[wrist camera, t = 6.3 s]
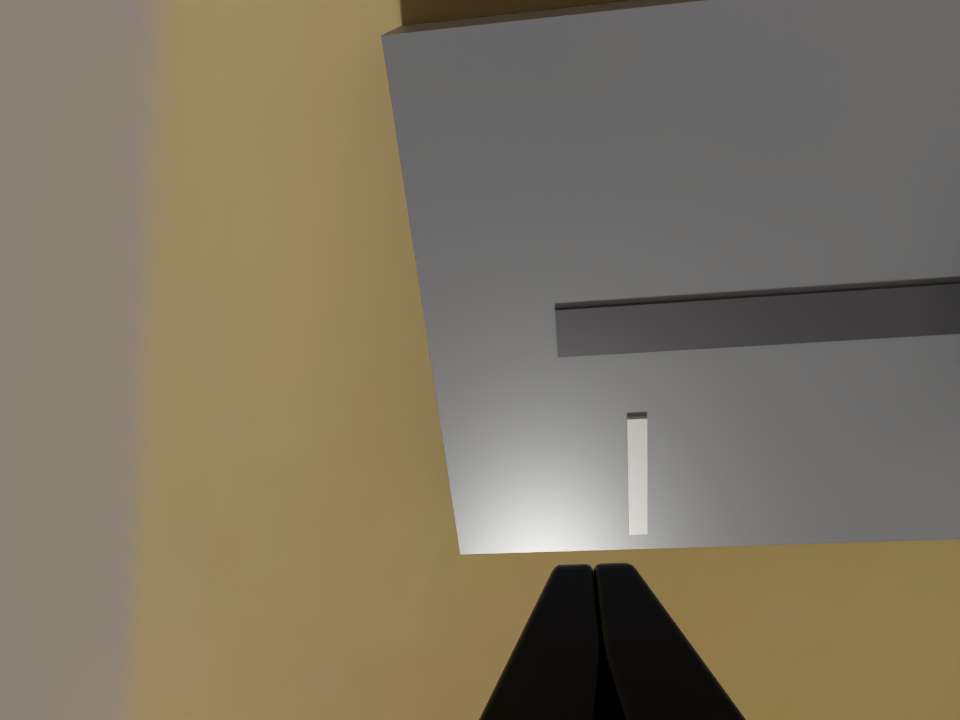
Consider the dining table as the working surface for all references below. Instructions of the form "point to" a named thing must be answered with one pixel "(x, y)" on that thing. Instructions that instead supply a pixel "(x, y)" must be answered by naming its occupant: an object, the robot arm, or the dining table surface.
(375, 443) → the dining table surface
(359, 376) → the dining table surface
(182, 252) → the dining table surface
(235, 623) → the dining table surface
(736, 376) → the mixer panel
